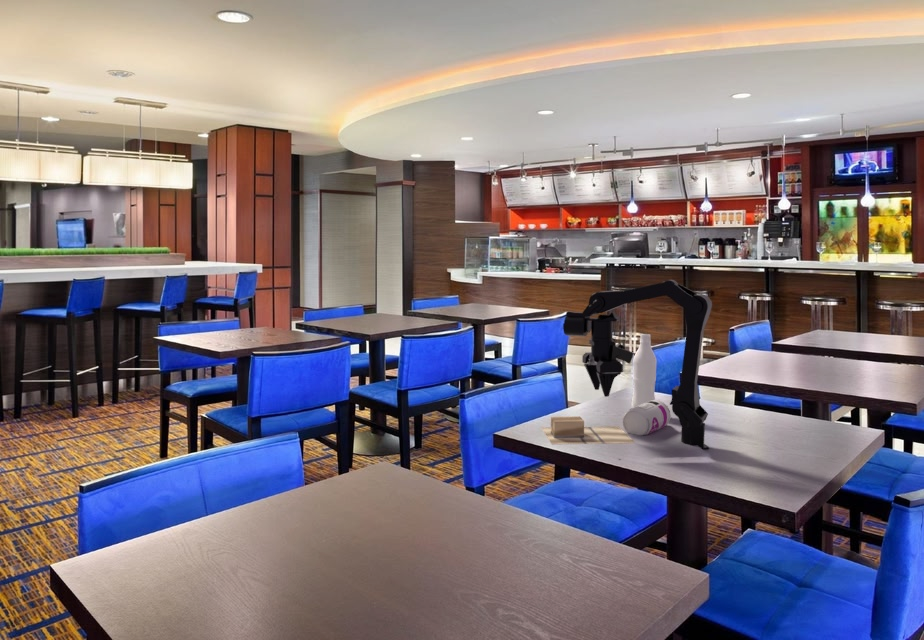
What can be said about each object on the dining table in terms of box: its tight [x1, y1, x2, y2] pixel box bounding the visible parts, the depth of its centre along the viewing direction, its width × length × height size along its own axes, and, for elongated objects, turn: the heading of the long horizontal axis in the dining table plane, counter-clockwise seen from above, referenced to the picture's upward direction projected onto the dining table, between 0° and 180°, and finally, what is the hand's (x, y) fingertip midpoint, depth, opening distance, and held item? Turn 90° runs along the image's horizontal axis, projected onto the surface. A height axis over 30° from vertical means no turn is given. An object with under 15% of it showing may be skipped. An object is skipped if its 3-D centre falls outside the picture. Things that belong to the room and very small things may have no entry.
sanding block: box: [550, 415, 585, 438], centre depth 182 cm, size 5×8×4 cm, turn 93°
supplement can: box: [622, 399, 672, 436], centre depth 189 cm, size 8×8×15 cm
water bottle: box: [631, 333, 658, 408], centre depth 208 cm, size 7×7×25 cm
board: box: [541, 426, 637, 445], centre depth 183 cm, size 16×22×1 cm
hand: (601, 393), depth 187 cm, fingers open, 9 cm apart
